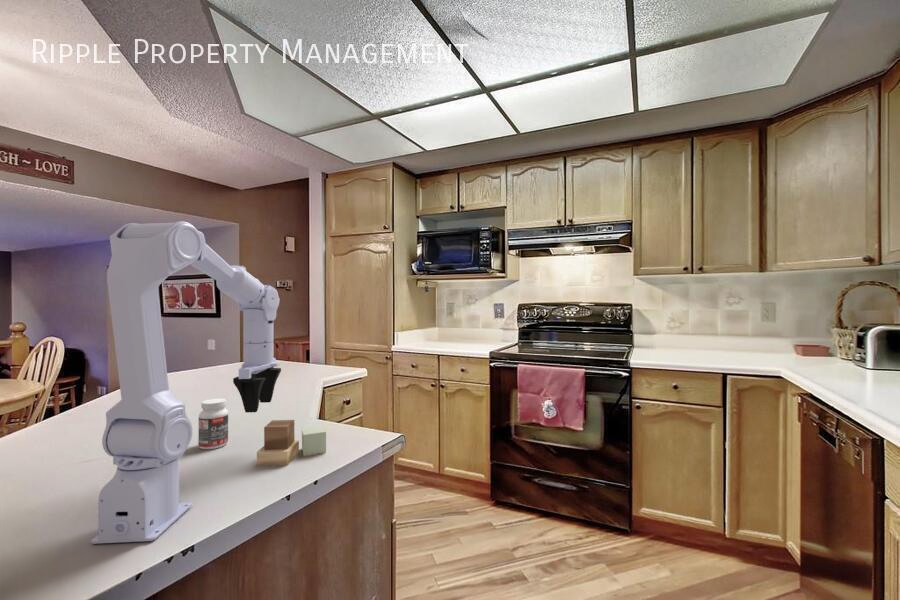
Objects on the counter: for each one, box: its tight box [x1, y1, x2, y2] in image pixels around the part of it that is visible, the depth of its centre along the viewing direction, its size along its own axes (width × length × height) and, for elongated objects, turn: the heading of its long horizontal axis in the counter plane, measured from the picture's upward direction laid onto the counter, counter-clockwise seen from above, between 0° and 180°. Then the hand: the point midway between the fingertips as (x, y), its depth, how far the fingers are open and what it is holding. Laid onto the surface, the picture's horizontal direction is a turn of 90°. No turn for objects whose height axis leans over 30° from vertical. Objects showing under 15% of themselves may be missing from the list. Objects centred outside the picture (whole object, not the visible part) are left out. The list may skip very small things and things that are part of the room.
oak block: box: [256, 440, 300, 466], centre depth 81 cm, size 6×6×3 cm
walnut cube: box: [263, 419, 296, 450], centre depth 82 cm, size 4×4×4 cm
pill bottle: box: [197, 397, 229, 450], centre depth 89 cm, size 6×6×10 cm
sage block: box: [301, 425, 327, 457], centre depth 86 cm, size 4×4×4 cm
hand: (258, 406), depth 84 cm, fingers open, 7 cm apart
